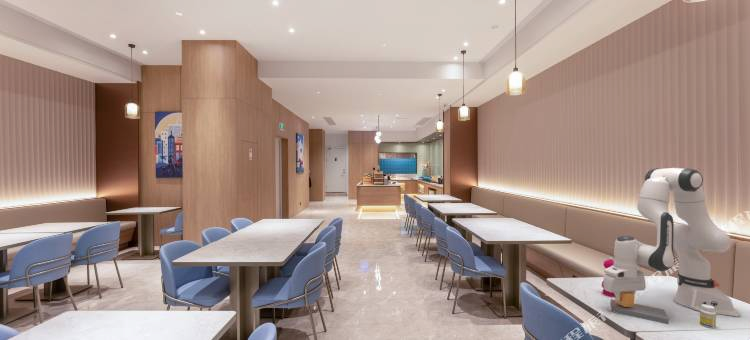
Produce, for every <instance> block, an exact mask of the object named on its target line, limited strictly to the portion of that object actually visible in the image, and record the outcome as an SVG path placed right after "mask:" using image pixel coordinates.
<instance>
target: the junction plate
mask: <svg viewBox="0 0 750 340" xmlns="http://www.w3.org/2000/svg"><path fill="white" fill-rule="evenodd" d="M610 310H612V311H615V312H618V313H617V314H621V315H625V316H631V317H634V318H638V319H644V320H647V321H648V320H649V321H653V322H658V323H663V324H667V325H669V324H670V321H669V320H670V319H669V317H668V315H667V313H666V310H665V309H663V308H657V307H653V306H648V305H643V304H638V303H634V306H633V307H624V306H622V305H619V304H617V303H615V299H612V298H610ZM615 312H614V313H615Z"/></svg>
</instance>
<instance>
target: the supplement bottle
mask: <svg viewBox="0 0 750 340" xmlns="http://www.w3.org/2000/svg"><path fill="white" fill-rule="evenodd" d="M701 308H702V309H700V311H699V324H700V325H701V326H703V327H704V328H705V327H706V328H709V329H715V328H716V326H717V325H716V322H717V321H716V318H717V314H716V313H715V312H714V311H715V308H714V307H713V306H710V305H705V304H702V305H701Z"/></svg>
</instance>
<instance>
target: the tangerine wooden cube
mask: <svg viewBox="0 0 750 340" xmlns="http://www.w3.org/2000/svg"><path fill="white" fill-rule="evenodd" d="M619 295H620V297H622V301H618V300H616V296H615V297H614V300H615V303H617V304H619V305H622V306H624V307H633V306H634V304H635V295H634V293H632V292H630V291H626V292H620V294H619Z"/></svg>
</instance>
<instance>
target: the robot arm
mask: <svg viewBox="0 0 750 340" xmlns="http://www.w3.org/2000/svg"><path fill="white" fill-rule="evenodd" d="M703 181H704V179H703V175H702V173H700V172H699V170H696V169H692V168H680V167H670V168H667V167H666V168H653V169H650V170H648V171H647V172H646V173H645V176H644V182H643V185H642V186H641V189H640V192H639V196H638V199H637V203H636V204H637V206H636V207H637V210H638V213H639V214H640V215H641V216H642V217H644V218H645V219H647V220H648V221H650V222H651V223H653V224H654V225H655V227H656V231H657V232H656V246H654V245H649V244H647V243H646V244H645V243H643V242H640V241H639V240H637V239H636V237H633V236H629V235H628V236H627V235H626V236H625V235H622V236H618V237H616V239H615V242H614V246H613V255H614V260H613V261H614V265H612V266H611V267H609V268H606V269H605V268H604V269H603V272H604V274H605V275H604V276H603V280H604V289H605V290H606V291H608V292H614V294H615V296H616V300H618V301H622V297H620V295H619V294H620V292H626V291H629V292H632V293H634V296H635V295H636V293H637V292H638V291H639V292H640V291H645V290H646V288H647V287H646V278H645V273H644V272H643V271H642V270H640V269H639V270H638V264H641V265H643V266H647V267H649V268H651V269H653V270H656V271H659V272H665V271H668V270H671V268H673V267H674V265H675V260H676V259H675V253H674V250H675V252H676V254H677V258H678V273H677V276H676V277H677V279H676V280H677V281H676V282H677V291H676V293H675V296H674V298H673V301H674V302H675V303H677V304H679V305H681V306H684V307H687V308H688V309H689V308H690V309H692V310H694V311H698V312H700V309H702V308H701V305H702V304H705V305H710V306H713V307H714V308H715V311H714V312H715V313H716V315H717V314H718V315H724V316H730V317H741V312H740V311H739V310H738V309H737V308H736V307H734V305H733V301H732V299H731V298H730V297H729V296H728V295H727V294H726V293H724V292H723V291H721V290H720V289H719V288H718V287H720V285H721V284H720V283H719V282H718V281H716V280H715V279H712V278H711V263H710V261H709V260H708V259H707V258H705V257H704V256H703V255H702V254H701V253H700V251H705V252H708V253H709V252H710V253H724V252H727V251H728V250H729V249H730V248H731V246H732V239H731V237H730V235H729V234H728V233H726V232H725V231H724V230H722V229H721V228H719V227H718V226H717V224H715V223H714V221H713V220H712V219H711V217H710V214H709V213H708V207H707V203H706V197H705V193H704V189H703V187H702V185H703V183H704V182H703ZM672 191H673V202H674V209H675V213H676V216H677V217H678V218H679V219H681V220H682V221H684V222H685V223H686V224H684V223H683V224H682V223H679V224H678V223H675V224H674V218H673V216H672V215H671V214H670V212H669V203H670V197H671V195H670V194H671V192H672ZM699 250H700V251H699ZM604 289H603V290H604Z"/></svg>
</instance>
